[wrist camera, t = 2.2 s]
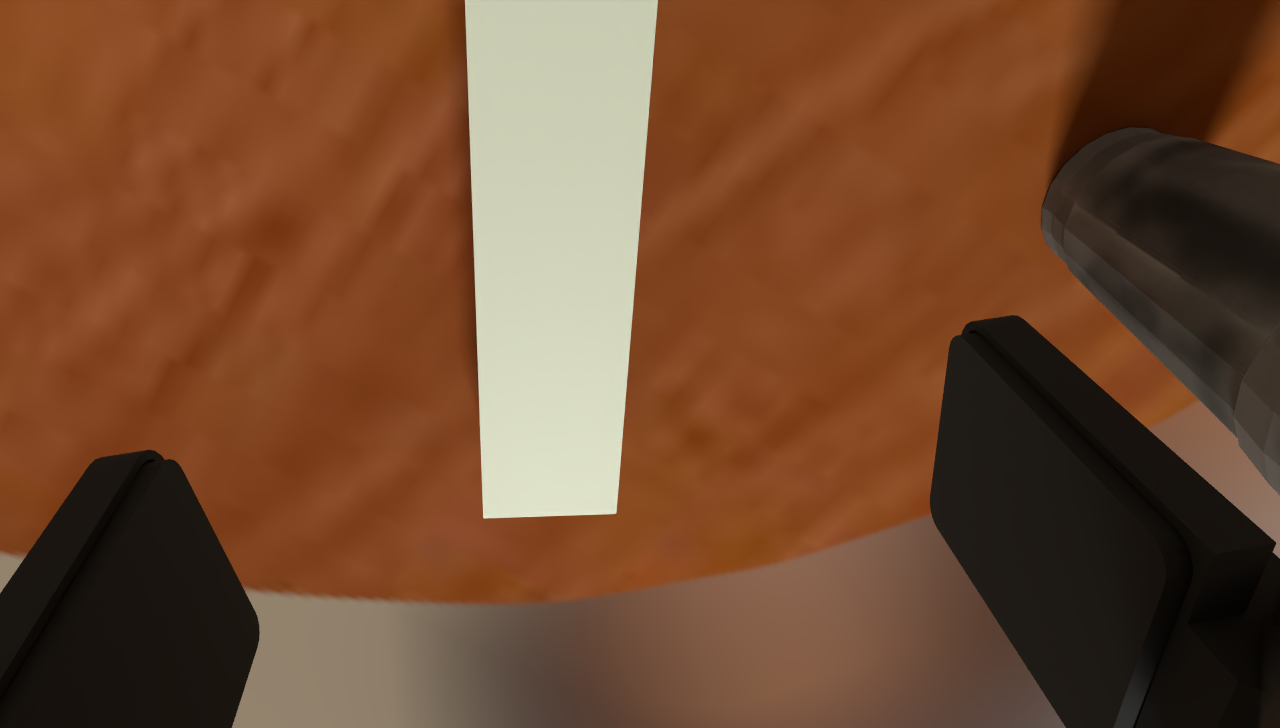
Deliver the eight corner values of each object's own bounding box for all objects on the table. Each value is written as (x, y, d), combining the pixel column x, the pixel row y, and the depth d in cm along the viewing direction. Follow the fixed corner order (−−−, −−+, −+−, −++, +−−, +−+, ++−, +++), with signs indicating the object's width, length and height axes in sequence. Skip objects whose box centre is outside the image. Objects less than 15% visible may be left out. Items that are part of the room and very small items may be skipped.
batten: (459, -457, 16) (445, -535, 13) (660, -427, 17) (698, -496, 13) (486, 436, 28) (483, 518, 24) (604, 434, 28) (616, 513, 25)
